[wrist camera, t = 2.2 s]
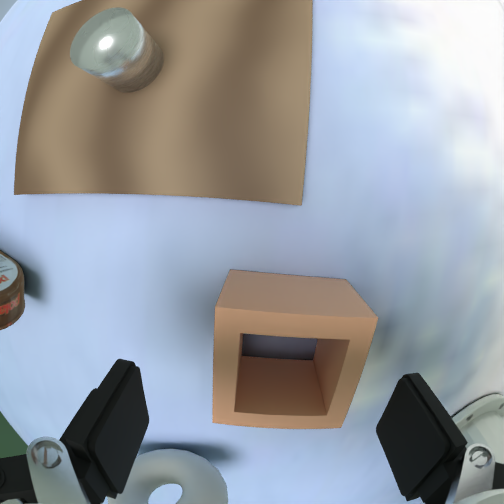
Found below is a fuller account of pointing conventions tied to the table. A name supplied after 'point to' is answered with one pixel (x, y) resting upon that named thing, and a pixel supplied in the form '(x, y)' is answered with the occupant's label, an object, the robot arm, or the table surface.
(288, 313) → the hollow square tube
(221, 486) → the donut
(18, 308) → the tin
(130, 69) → the domed metal cylinder
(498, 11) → the table surface
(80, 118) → the board
